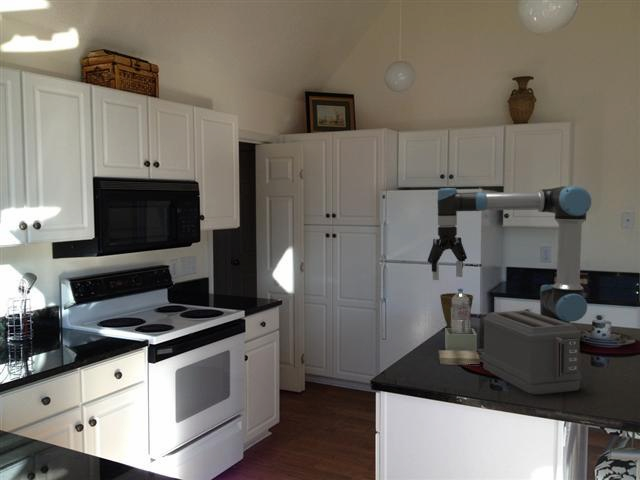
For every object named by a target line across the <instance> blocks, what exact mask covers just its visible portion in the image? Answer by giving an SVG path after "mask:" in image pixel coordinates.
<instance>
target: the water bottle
mask: <svg viewBox="0 0 640 480" xmlns="http://www.w3.org/2000/svg"><path fill="white" fill-rule="evenodd" d="M456 293H457V294H455V295H454V296H453V298H452V334H469V298H468V297H467V296H466V295H465V294H466V293H464V289H463V288H458V289H457V292H456Z"/></svg>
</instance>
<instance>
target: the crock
mask: <svg viewBox="0 0 640 480" xmlns="http://www.w3.org/2000/svg"><path fill="white" fill-rule="evenodd" d="M477 338H478V335H477V333H476V331H475V329H474V328H471V329H470V328H469V334H452V328H448V327H445V328H444V348H445V350H457V351H477V352H478V349H477V348H478V347H477V346H478V345H477V343H478V341H477V340H478V339H477Z"/></svg>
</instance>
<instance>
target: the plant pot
mask: <svg viewBox="0 0 640 480" xmlns="http://www.w3.org/2000/svg"><path fill="white" fill-rule="evenodd" d="M457 293H458V292H453V293H452V292H449V293H448V292H447V293H441V294H440V295H439V297H440V303H441V309H442V313H443V318H444V321H445V324H446V326H447V327H446V328H451V307H452V298H453V296H454V295H455V294H457ZM464 294H465V295H466V296H467V297H468V298H469V307H470V308H471V309H472V306H473V301H474V295H473V294H470V293H464Z"/></svg>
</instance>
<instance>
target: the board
mask: <svg viewBox="0 0 640 480" xmlns="http://www.w3.org/2000/svg"><path fill="white" fill-rule="evenodd" d="M438 359H439V364H440V365H442V366H443V365H448V366H449V365H452V366H471V365H470V364H480V363H481V360H480V359H481V358H480V356H479V354H478V351H477V352H476V351H457V350H446V349H445V350H444V349H443V350H442V349H439V350H438ZM468 364H469V365H468Z"/></svg>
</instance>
